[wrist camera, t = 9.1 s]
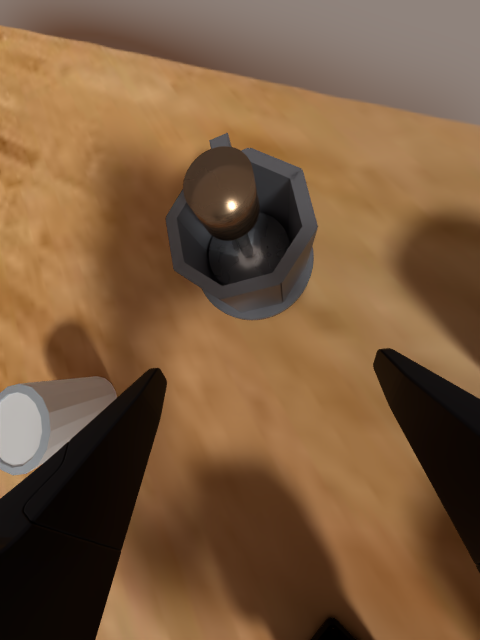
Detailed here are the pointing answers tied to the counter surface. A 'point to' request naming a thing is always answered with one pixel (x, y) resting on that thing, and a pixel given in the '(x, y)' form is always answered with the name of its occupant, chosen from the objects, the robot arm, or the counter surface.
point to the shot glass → (46, 418)
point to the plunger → (233, 216)
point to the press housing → (274, 199)
